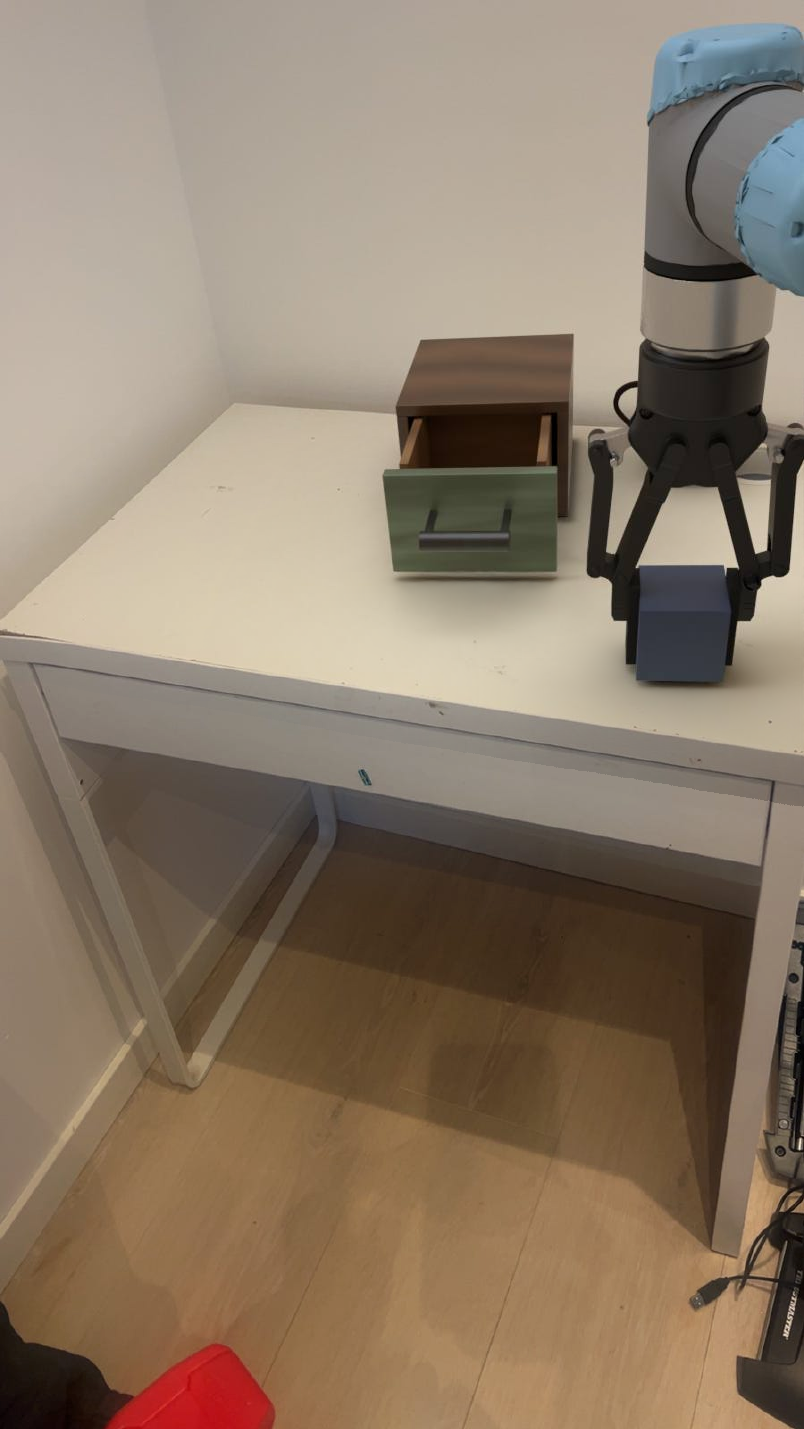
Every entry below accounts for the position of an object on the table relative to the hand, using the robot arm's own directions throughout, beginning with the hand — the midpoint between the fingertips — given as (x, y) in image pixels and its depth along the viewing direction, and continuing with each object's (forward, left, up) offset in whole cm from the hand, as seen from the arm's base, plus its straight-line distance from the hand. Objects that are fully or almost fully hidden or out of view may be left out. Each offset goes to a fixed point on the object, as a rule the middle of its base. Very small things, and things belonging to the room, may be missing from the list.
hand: (677, 653), depth 76 cm
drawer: (+16, +16, 0) cm, 23 cm away
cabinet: (+30, +16, -1) cm, 34 cm away
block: (0, 0, 0) cm, 0 cm away
